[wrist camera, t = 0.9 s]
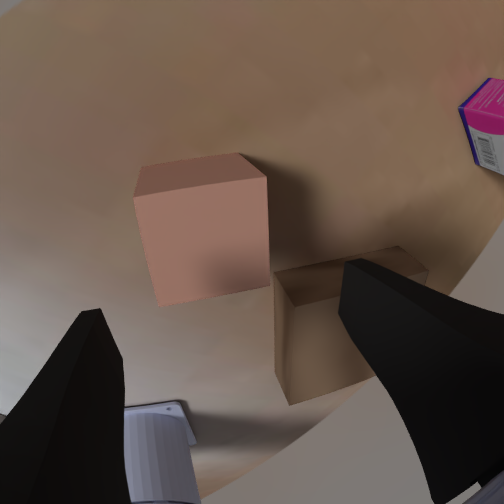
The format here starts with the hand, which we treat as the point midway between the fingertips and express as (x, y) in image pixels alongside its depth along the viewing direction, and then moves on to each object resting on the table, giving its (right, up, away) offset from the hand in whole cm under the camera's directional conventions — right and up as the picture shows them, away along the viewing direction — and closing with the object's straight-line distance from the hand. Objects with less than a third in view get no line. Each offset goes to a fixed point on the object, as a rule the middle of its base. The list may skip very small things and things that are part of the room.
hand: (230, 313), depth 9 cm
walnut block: (+7, -3, +15) cm, 17 cm away
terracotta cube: (-2, +4, +8) cm, 9 cm away
